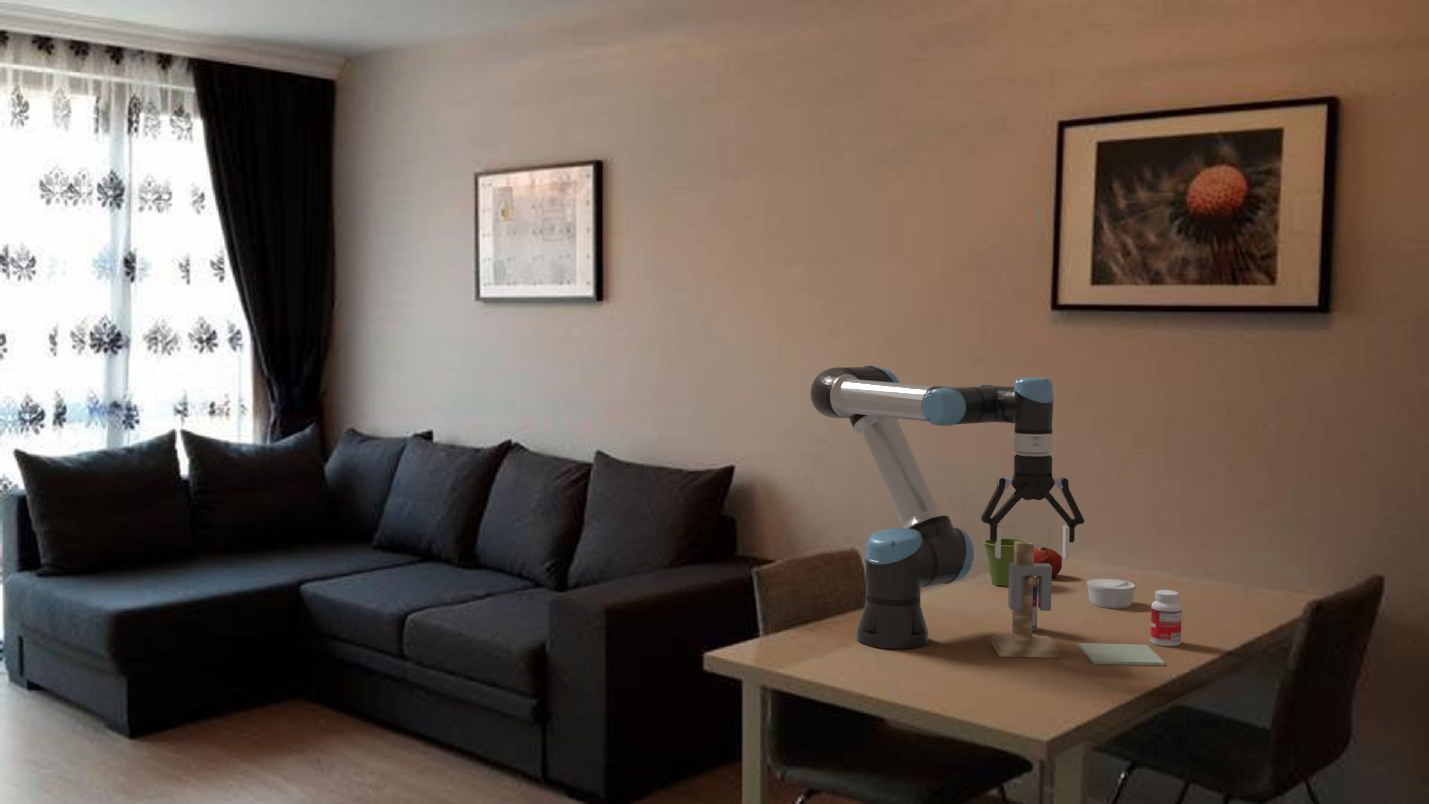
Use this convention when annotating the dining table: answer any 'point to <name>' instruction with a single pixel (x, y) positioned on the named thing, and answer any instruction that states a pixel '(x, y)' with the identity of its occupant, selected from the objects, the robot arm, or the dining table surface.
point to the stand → (1024, 618)
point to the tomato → (1048, 558)
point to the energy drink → (1034, 612)
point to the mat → (1121, 654)
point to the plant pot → (1000, 560)
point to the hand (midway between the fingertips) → (1031, 558)
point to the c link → (1043, 584)
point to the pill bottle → (1166, 619)
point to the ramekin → (1110, 593)
